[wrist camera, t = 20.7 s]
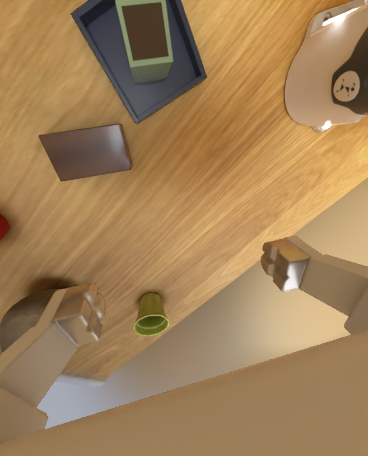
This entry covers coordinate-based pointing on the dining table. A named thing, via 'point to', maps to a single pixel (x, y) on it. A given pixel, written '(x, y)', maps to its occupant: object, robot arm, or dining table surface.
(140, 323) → the plant pot
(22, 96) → the dining table surface
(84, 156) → the walnut block
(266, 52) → the dining table surface
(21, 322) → the grey-brown rounded piece
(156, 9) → the green box
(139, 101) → the tray
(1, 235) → the plastic cup
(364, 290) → the robot arm
